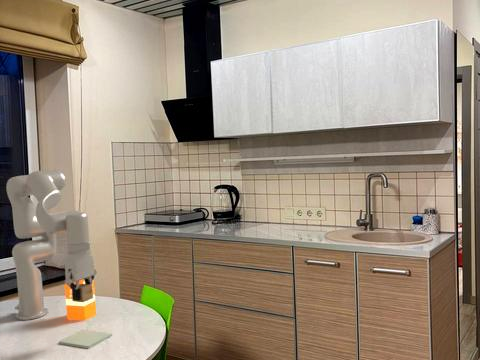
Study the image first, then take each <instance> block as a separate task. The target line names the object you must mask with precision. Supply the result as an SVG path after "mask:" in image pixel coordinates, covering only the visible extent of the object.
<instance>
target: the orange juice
mask: <svg viewBox="0 0 480 360" xmlns="http://www.w3.org/2000/svg"><path fill="white" fill-rule="evenodd" d="M87 279H88V278H87ZM74 284H76V282H75V283H74ZM79 284H85V282H84V279H82V280H80V281H79ZM91 285H92V289H93V298H92V299H90V300H88V301H85V302H75V301H72V289H71V288H70V287H69V286H68V285H67V284H65V283H64V294H65V306H66V316H67V317H66V319H67V320H71V321H82V322H83V321H87V320H89V319H91V318H92V317H94V316H96V315H97V306H96V304H97V303H96V295H95V281H94V279H93V283H92V284H91Z"/></svg>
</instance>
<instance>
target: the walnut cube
mask: <svg viewBox="0 0 480 360" xmlns="http://www.w3.org/2000/svg"><path fill="white" fill-rule="evenodd" d="M78 289H80V296H81V300H73V294H72V301H75V302H85V301H88V300H90V299H92V298H93V289H92V285H91V284H79V288H78Z"/></svg>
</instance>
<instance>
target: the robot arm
mask: <svg viewBox="0 0 480 360" xmlns="http://www.w3.org/2000/svg"><path fill="white" fill-rule="evenodd" d="M65 187H66V176H65V175H64V173H63V172H62V171H60V170H59V169H46V170H37V171H36V170H34V171H32V172H31V173H29V174H26V175H25V174H24V175H18V176H13V177H10V178H9V179H8V180H7V183H6V188H5V189H6V193H7V197H8V200H9V202H10V204H11V208H12V219H13V220H12V221H13V230H14V234H15V236H16V238H18V239H20V240H21V239H22V240H23V239H24V240H25V239H32V240H27V241H23V242H21V241H20V242H18V243H16V244H15V245H14V246H13V248H12V250H11V254H12V258H13V259H12V260H13V261H14V266H15V272H16V283H17V284H16V285H17V292H18V293H17V294H18V304H17V305H16V306H15V307H14V309H15V310H16V311H17V310H18V312H17V313H16V314H15V317H16V319H17V320H20V321H28V320H34V319H39V318H42V317H45V316H46V315H47V314H48V313H49V309H48V308H46V307H45V303H44V290H43V278H42V272H41V270H40V269H39V268H38V267H37V266H36V265H35V264H37V263H40V262H46V261H50V260H53V259H55V257H56V255H57V239H56V237H57V236H56V234H62V233H63V234H64V233H66V244H67V252H66V254H65V255H66V256H65V261H64V263H65V266H64V268H65V269H64V272H65V280H64V285H65V284H67V285H68V286H69V287H70V288H71V289H72V294H73V300H81V296H80V289H78V288H79V281H80V280H82V279H84V282H85V284H92V283H93V280H94V279H95V276H96V275H97V274H98V273H97V272H98V271H96V269H95V262H94V259H93V257H94V256H93V252H92V250H91V242H90V231H89V219H88V215H87V213H86V212H79V211H77V210H68V211H67V210H66V211H58V212H54V213H52V212H51V213H49V212H48V211H50V210H51V209H53V208H54V207H56V206H57V205H58V204H59V203H60V202H61V199H62V193H61V190H63V189H64V188H65ZM29 196H34V198H35V199H36V200H37V204H36V205H35V204H34V201H33V200H32V199H31V198H30V197H29ZM38 237H41V238H39V239H34V240H33V238H38ZM87 278H88V279H87ZM75 282H76V284H74V283H75Z"/></svg>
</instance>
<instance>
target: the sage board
mask: <svg viewBox="0 0 480 360" xmlns="http://www.w3.org/2000/svg"><path fill="white" fill-rule="evenodd" d="M112 336H113V333H109V332H102V331H96V330H89V329H81V330H79V331H77V332H75V333H73V334H71V335H69V336H67V337H64V338H62V339H61V340H59V341H58V344H59V345H65V346H69V347H70V346H71V347H77V348H84V349H90V348H92V347H94V346H96V345H98V344H100V343H102V342H103V341H106V340H107V339H109V338H111V337H112Z"/></svg>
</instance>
